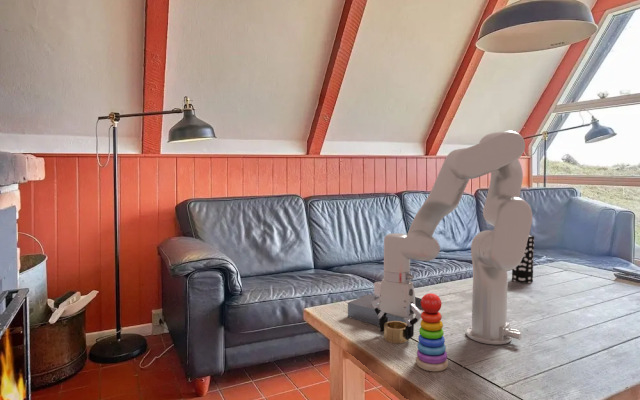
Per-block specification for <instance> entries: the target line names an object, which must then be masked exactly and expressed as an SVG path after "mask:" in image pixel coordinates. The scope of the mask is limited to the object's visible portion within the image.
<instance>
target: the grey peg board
mask: <svg viewBox="0 0 640 400" xmlns="http://www.w3.org/2000/svg"><path fill="white" fill-rule="evenodd" d="M381 282H382V281H374V283H373V286H374V287H373V288H374V292H373V295H372V294H366V295H363V296H361V297H359V298H358V297H357V298H356V299H353V300H351V301H348V302H347V317H348V318H350V317H351V318H350V319H353V320H358V321H361V322H364V323H368V324H371V325H374V326H378V327H379V318H378V315H377V313H376V312H375V308H374V307H373V305H372V302H373V301H375V300H377V299H378V298H379V295H380V287H381ZM378 305H379V304H378ZM386 316H387V318H388V322H389V321H401V322H404V323H406V321H405V319H404V318H403V317H399V316H395V315H391V314H388V313H387V315H386ZM412 316H413V317H414V314H412ZM406 324H407V323H406Z"/></svg>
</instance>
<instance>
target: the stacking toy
mask: <svg viewBox="0 0 640 400" xmlns="http://www.w3.org/2000/svg"><path fill="white" fill-rule="evenodd" d="M420 299H421V307H422V309H423V310H422V311H421V312H422V314H421V318H420V319H421V321H420V324H419V325H420V328H419V330H418V332H419V335H418V342H417V350H416V355H417V356H416V358H415V363H416V366H418V367H419V368H420V369H422V370H425V371H429V372H442V371H445V370H446V369H447V368H448V366H449V362H448V361H449V360H448V352H447V347H446V344H445V342H446V340H445V337H444V333H445V332H444V330H443V327H444V324H443V321H442V318H443V317H442V314H441V312H439V311H440V310H441V308H442V306H443V305H442V304H443V303H442V300H441V298H440V297H439V296H438V295H437V294H436V293H433V292H431V293H426V294H424V295H423V296H422V297H421V298H420Z"/></svg>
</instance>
